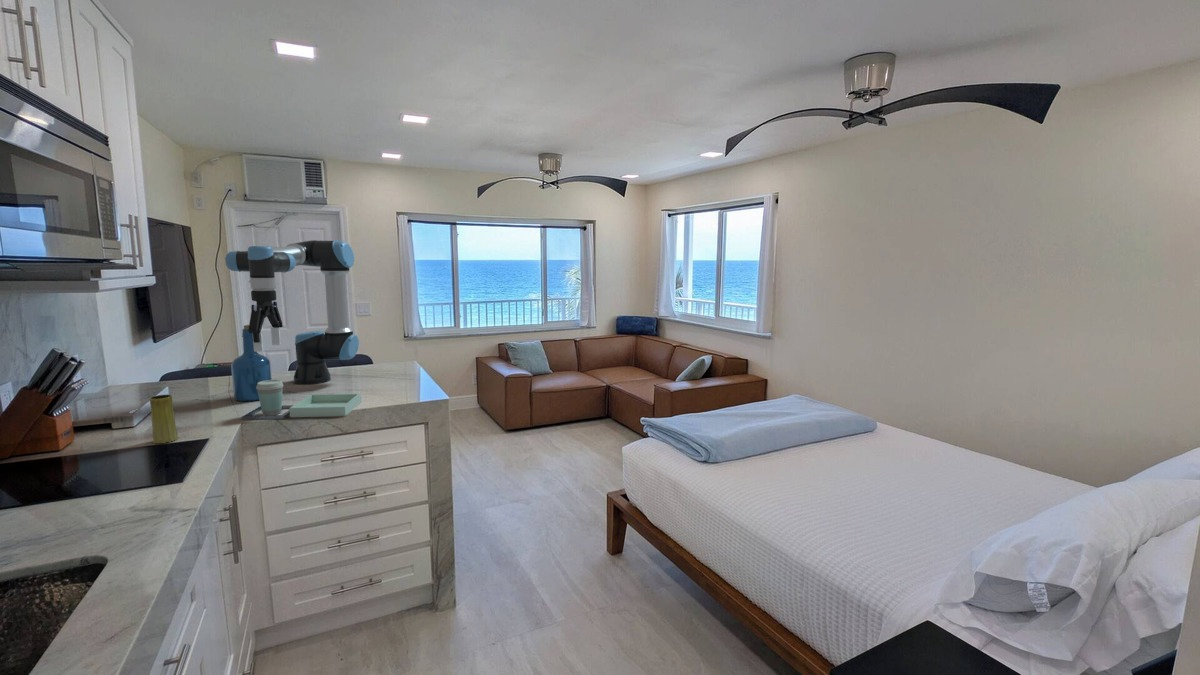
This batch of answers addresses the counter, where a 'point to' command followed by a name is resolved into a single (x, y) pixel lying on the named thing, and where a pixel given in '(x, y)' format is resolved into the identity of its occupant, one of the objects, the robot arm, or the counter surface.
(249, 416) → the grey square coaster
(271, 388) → the coffee cup
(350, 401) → the bin
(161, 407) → the vase
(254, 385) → the wine bottle
